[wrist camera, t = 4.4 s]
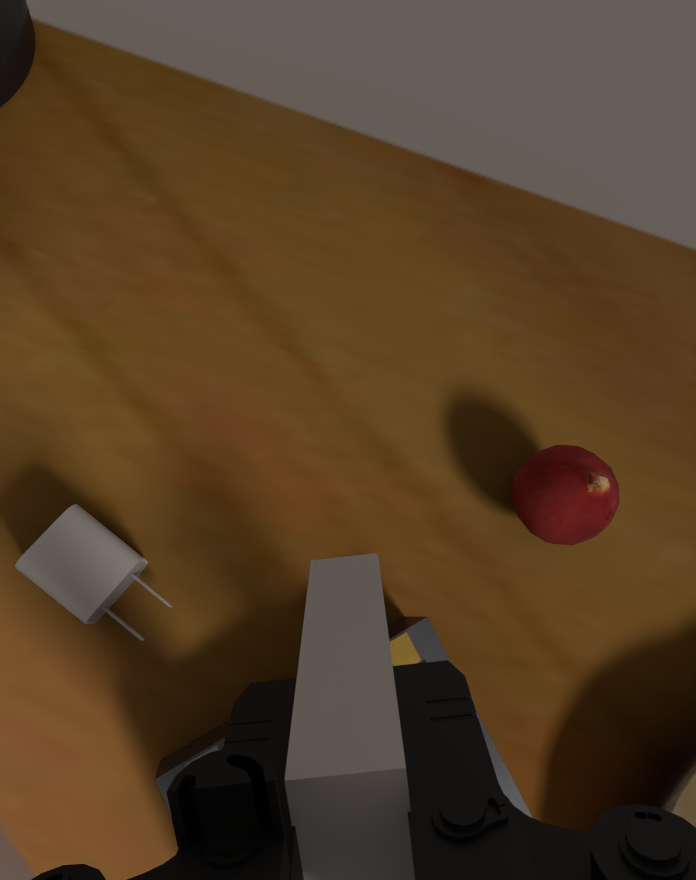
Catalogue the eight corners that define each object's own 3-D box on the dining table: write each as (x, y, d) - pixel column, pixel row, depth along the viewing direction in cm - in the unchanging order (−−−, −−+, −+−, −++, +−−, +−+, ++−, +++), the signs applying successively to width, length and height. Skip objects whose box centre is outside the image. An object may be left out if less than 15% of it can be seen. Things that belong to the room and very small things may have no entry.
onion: (553, 450, 42) (629, 414, 35) (587, 533, 41) (673, 515, 34) (477, 475, 40) (539, 443, 33) (511, 562, 39) (583, 550, 32)
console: (160, 760, 33) (154, 779, 29) (404, 616, 37) (428, 616, 33) (255, 972, 31) (262, 1023, 27) (497, 795, 36) (533, 817, 32)
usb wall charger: (88, 513, 35) (73, 501, 31) (185, 592, 35) (183, 590, 31) (33, 571, 34) (11, 566, 30) (134, 654, 34) (125, 659, 30)
